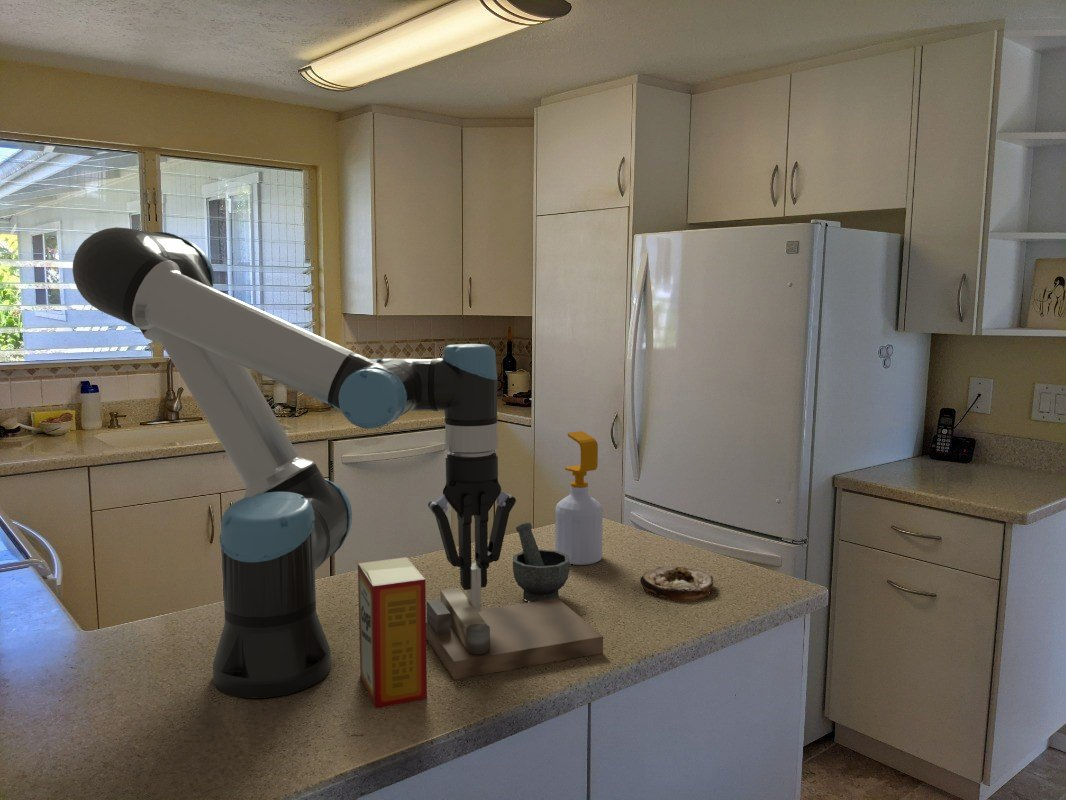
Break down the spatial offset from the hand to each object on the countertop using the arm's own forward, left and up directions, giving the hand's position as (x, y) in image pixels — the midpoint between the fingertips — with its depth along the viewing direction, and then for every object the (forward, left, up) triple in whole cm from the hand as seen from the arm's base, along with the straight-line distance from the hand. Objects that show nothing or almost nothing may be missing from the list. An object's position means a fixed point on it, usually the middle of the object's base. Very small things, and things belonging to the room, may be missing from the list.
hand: (474, 608), depth 123 cm
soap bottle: (+30, +28, -5) cm, 42 cm away
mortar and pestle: (+15, +12, -5) cm, 20 cm away
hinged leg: (-2, -2, -2) cm, 4 cm away
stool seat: (+4, -4, -5) cm, 7 cm away
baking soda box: (-15, -11, -5) cm, 19 cm away
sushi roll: (+39, +7, -5) cm, 40 cm away
